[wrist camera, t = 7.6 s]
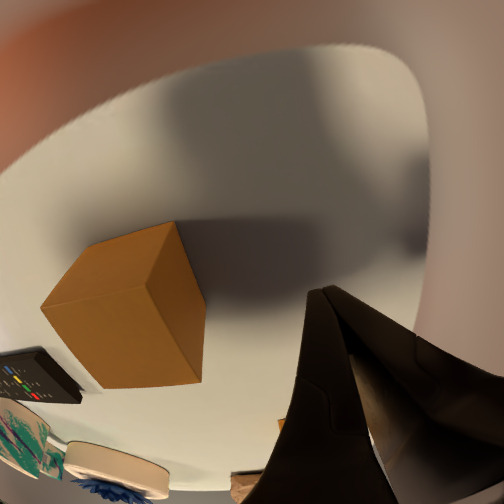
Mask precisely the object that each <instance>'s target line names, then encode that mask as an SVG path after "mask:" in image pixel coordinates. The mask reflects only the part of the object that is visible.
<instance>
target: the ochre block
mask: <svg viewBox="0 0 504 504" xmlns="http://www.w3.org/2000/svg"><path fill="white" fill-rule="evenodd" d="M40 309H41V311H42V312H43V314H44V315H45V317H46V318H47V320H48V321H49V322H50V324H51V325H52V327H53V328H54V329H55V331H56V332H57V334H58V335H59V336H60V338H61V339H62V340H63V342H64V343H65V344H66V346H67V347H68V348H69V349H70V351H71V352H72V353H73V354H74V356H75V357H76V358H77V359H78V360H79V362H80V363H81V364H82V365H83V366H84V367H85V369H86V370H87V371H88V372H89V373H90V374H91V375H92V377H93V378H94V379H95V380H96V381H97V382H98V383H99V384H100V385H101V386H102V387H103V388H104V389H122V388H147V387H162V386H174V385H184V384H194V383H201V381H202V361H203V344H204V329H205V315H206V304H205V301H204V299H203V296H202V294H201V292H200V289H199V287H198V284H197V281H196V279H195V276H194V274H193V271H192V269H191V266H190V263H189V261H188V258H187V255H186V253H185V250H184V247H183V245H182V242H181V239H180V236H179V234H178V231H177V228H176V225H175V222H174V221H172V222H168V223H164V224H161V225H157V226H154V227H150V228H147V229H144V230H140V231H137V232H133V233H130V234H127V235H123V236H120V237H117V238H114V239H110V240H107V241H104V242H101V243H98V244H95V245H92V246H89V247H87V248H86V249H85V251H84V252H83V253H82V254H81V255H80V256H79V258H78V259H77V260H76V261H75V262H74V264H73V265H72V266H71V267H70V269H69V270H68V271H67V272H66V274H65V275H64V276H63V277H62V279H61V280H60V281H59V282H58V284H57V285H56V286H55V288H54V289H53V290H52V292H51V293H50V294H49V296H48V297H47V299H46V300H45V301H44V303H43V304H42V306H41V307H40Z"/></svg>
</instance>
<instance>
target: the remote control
mask: <svg viewBox="0 0 504 504" xmlns="http://www.w3.org/2000/svg"><path fill="white" fill-rule="evenodd" d="M0 397H1V398H7V399H14V400H23V401H32V402H45V403H63V404H81V401H82V398H83V397H82V395H81V393H80V391H79V390H78V388H77V386H76V384H75V383H74V381H73V380H72V379H71V378H70V377H69V376H68V375H67V373H66V372H65V371H64V370H63V369H62V368H61V367H60V366H59V365H58V364H57V363H55V362H54V361H53V360H52V359H51V358H49V357H47V356H45V355H43V354H41V353H39V352H34V353H27V354H21V355H15V356H8V357H1V358H0Z"/></svg>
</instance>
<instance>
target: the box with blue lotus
mask: <svg viewBox="0 0 504 504" xmlns="http://www.w3.org/2000/svg"><path fill="white" fill-rule="evenodd" d="M63 466H64V468H65V469H66V470H67V471H69V472H70V473H71V474H73V475H75V476H77V477H78V478H80V479H76V480H72V481H71V482H78V483H82V484H80V485H79V486H84V487H83V489H91V490H90V492H91V493H98V494H100V495H101V496H102V498H103V499H108V498H109V499H110V501H112V502H116V501H119V500H120V499H121V500H122V501H124V502H126V503H129V504H133V502H135V503H137V504H145V502H147V503H149V504H153V503H152V502H151V501H150V500H148V499H166V498H168V497H169V496H168V491H169V474H168V472H167V471H166V470H164V469H163V468H161V467H159V466H157V465H155V464H153V463H150V462H148V461H145V460H143V459H140V458H137V457H134V456H131V455H128V454H125V453H122V452H119V451H115V450H112V449H109V448H105V447H101V446H98V445H93V444H89V443H84V442H71V443H69V444H68V446H67V450H66V454H65V459H64V463H63ZM144 501H145V502H144Z"/></svg>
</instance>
